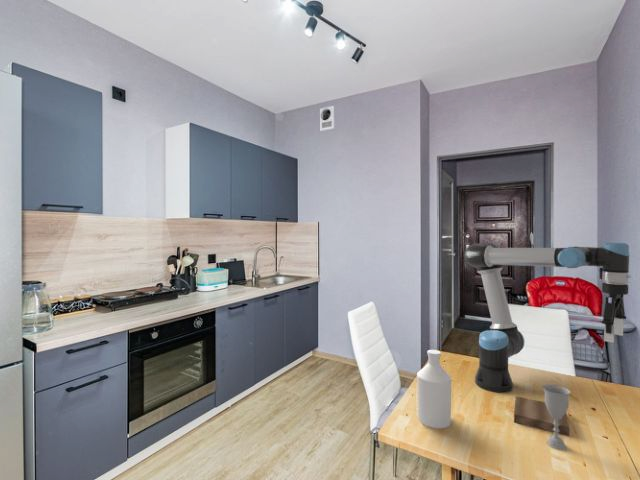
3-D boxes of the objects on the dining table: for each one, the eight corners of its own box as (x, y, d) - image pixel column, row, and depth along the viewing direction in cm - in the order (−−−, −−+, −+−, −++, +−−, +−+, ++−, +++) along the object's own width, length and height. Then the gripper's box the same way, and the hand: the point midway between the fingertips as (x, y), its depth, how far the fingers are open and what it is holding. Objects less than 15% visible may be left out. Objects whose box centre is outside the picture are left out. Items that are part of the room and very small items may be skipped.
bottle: (432, 431, 116) (431, 359, 115) (410, 415, 127) (410, 348, 126) (458, 424, 120) (458, 354, 120) (435, 408, 131) (435, 344, 131)
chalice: (565, 441, 110) (565, 386, 110) (573, 453, 104) (574, 395, 103) (539, 436, 112) (540, 383, 112) (546, 449, 106) (546, 392, 106)
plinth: (514, 422, 121) (514, 414, 121) (515, 403, 135) (515, 396, 135) (569, 436, 113) (569, 427, 113) (564, 414, 126) (564, 406, 126)
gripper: (619, 287, 118) (618, 347, 118) (635, 281, 133) (634, 334, 134) (592, 284, 124) (591, 342, 124) (611, 279, 139) (609, 330, 140)
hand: (613, 338), depth 129 cm, fingers open, 13 cm apart
